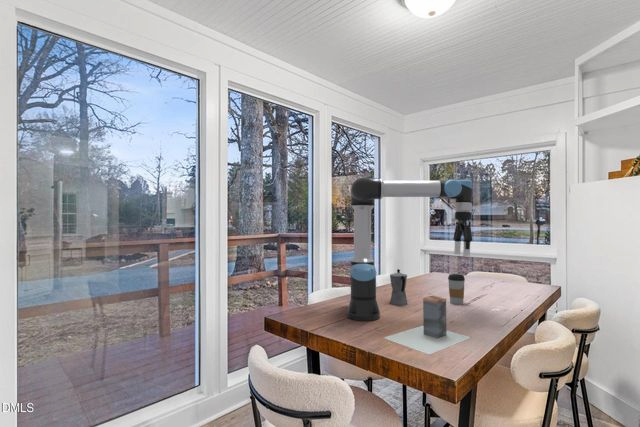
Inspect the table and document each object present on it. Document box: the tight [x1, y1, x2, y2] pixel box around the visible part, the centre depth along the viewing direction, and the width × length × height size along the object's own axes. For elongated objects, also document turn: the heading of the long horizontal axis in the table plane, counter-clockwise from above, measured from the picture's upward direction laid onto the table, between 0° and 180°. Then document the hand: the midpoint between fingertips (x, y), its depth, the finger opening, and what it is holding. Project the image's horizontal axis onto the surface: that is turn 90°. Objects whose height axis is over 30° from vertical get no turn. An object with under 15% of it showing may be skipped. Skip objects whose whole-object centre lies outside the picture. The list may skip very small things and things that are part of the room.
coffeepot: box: [389, 269, 408, 306], centre depth 181 cm, size 15×9×18 cm, turn 6°
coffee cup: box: [447, 273, 466, 306], centre depth 180 cm, size 8×8×15 cm
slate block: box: [422, 295, 448, 339], centre depth 131 cm, size 6×6×14 cm
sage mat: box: [383, 325, 472, 355], centre depth 127 cm, size 26×20×1 cm
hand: (461, 255), depth 166 cm, fingers open, 13 cm apart
